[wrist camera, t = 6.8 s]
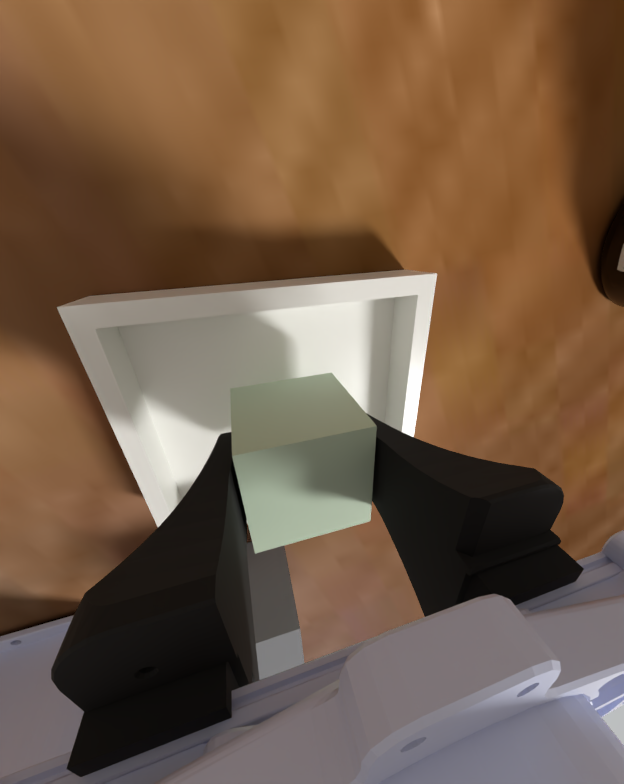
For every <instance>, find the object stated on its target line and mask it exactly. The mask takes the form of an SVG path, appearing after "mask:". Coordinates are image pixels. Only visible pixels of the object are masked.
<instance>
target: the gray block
mask: <svg viewBox="0 0 624 784" xmlns="http://www.w3.org/2000/svg"><path fill="white" fill-rule="evenodd" d="M247 560H248V571H249V582H250V593H251V603H252V613H253V623H254V633H255V642H256V652H257V661H258V670H259V679H260V680H262V679H264V678H267V677H269V676H272V675H275V674H277V673H280V672H283V671H285V670H288V669H291V668H293V667H296V666H299V665H301V664H304V656H303V648H302V641H301V633H300V626H299V621H298V616H297V611H296V605H295V600H294V595H293V590H292V584H291V579H290V574H289V569H288V563H287V558H286V553H285V548H284V546H280V547H277V548H273V549H270V550H266V551H263V552H259V553H256V554H255V552H254V548H253V543H252V542H248V543H247Z"/></svg>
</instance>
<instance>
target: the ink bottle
mask: <svg viewBox="0 0 624 784" xmlns="http://www.w3.org/2000/svg"><path fill="white" fill-rule="evenodd" d="M601 280H602V285H603V288H604V291H605V293H606V295H607V296H608V298H609V299H610V300H611V301H612V302H613V303H615V304H617V305H619V306H622V307H624V204H623V206H622V207H621V209H620V211H619V212H618V214H617V216H616V218H615V220H614V222H613V224H612V226H611V228H610V230H609V233H608V235H607V238H606V241H605V244H604V248H603V253H602V259H601Z"/></svg>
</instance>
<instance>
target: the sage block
mask: <svg viewBox="0 0 624 784" xmlns="http://www.w3.org/2000/svg"><path fill="white" fill-rule="evenodd" d="M230 398H231V436H232V458H233V462H234V467H235V471H236V475H237V479H238V484H239V488H240V492H241V496H242V501H243V505H244V509H245V513H246V518H247V522H248V526H249V531H250V535H251V539H252V543H253V548H254V552H255V554H256V553H259V552H263V551H266V550H270V549H273V548H277V547H280V546H284V545H287V544H291V543H294V542H298V541H302V540H305V539H309V538H312V537H316V536H319V535H323V534H326V533H330V532H333V531H337V530H341V529H344V528H348V527H351V526H355V525H358V524H362V523H365V522H369V521H370V520H371V505H372V491H373V476H374V461H375V446H376V431H377V426H376V424H375V423H374V422H373V421H372V420H371V418H370V417H369V416H368V415H367V414H366V413H365V411H364V410H363V409H362V408H361V407H360V406H359V404H358V403H357V402H356V401H355V400H354V398H353V397H352V396H351V395H350V394H349V393H348V391H347V390H346V389H345V388H344V387H343V385H342V384H341V383H340V382H339V381H338V380H337V378H336V377H335V376H334V375H333V374H332V373H325V374H319V375H313V376H306V377H300V378H294V379H287V380H281V381H275V382H268V383H262V384H256V385H250V386H243V387H237V388H231V389H230Z"/></svg>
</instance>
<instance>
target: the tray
mask: <svg viewBox="0 0 624 784" xmlns="http://www.w3.org/2000/svg"><path fill="white" fill-rule="evenodd" d="M436 278H437V273H430V272H421V271H413V270H394V271H382V272H370V273H358V274H346V275H334V276H322V277H310V278H298V279H286V280H274V281H262V282H250V283H238V284H226V285H214V286H202V287H190V288H178V289H166V290H154V291H142V292H130V293H118V294H106V295H94V296H88V297H85V298H82V299H79V300H76V301H73V302H70V303H67V304H64V305H61V306H58V307H57V309H58V311H59V314H60V316H61V318H62V320H63V322H64V324H65V327H66V329H67V331H68V333H69V335H70V337H71V340H72V342H73V344H74V346H75V348H76V350H77V353H78V355H79V357H80V359H81V361H82V364H83V366H84V368H85V370H86V372H87V374H88V377H89V379H90V381H91V383H92V385H93V387H94V390H95V392H96V394H97V396H98V398H99V400H100V403H101V405H102V407H103V409H104V411H105V414H106V416H107V418H108V420H109V422H110V424H111V427H112V429H113V431H114V433H115V435H116V437H117V440H118V442H119V444H120V446H121V448H122V451H123V453H124V455H125V457H126V459H127V461H128V464H129V466H130V468H131V470H132V472H133V474H134V477H135V479H136V481H137V483H138V485H139V487H140V490H141V492H142V494H143V496H144V498H145V501H146V503H147V505H148V507H149V509H150V511H151V514H152V516H153V518H154V520H155V522H156V524H157V527H159V526H160V525H161V524H162V523H163V522H164V520H165V519H166V518H167V517H168V516H169V515H170V514H171V512H172V511H173V510H174V509H175V508H176V506H177V505H178V504H179V502H180V501H181V500H182V499H183V497H184V496H185V495H186V493H187V492H188V490H189V489H190V487H191V486H192V484H193V483H194V481H195V480H196V478H197V477H198V475H199V474H200V472H201V470H202V469H203V467H204V465H205V463H206V461H207V460H208V458H209V456H210V454H211V452H212V450H213V448H214V446H215V444H216V441H217V439H218V437H219V435H220V434H223V433H228V432H231V398H230V389H231V388H237V387H243V386H250V385H256V384H262V383H268V382H275V381H281V380H287V379H294V378H300V377H306V376H313V375H319V374H325V373H332V374H333V375H334V376H335V377H336V378H337V380H338V381H339V382H340V383H341V384H342V385H343V387H344V388H345V389H346V390H347V391H348V393H349V394H350V395H351V396H352V397H353V398H354V400H355V401H356V402H357V403H358V404H359V406H360V407H361V408H362V409H363V410H364V411H365V413H367V414H369V415H370V416H372V417H374V418H376V419H378V420H380V421H381V422H383V423H385V424H387V425H389V426H391V427H393V428H395V429H397V430H399V431H401V432H403V433H405V434H407V435H409V436H412V437H414V431H415V424H416V417H417V410H418V403H419V396H420V389H421V382H422V375H423V368H424V361H425V354H426V347H427V340H428V333H429V327H430V320H431V313H432V306H433V299H434V292H435V285H436ZM247 523H248V522H247Z"/></svg>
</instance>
